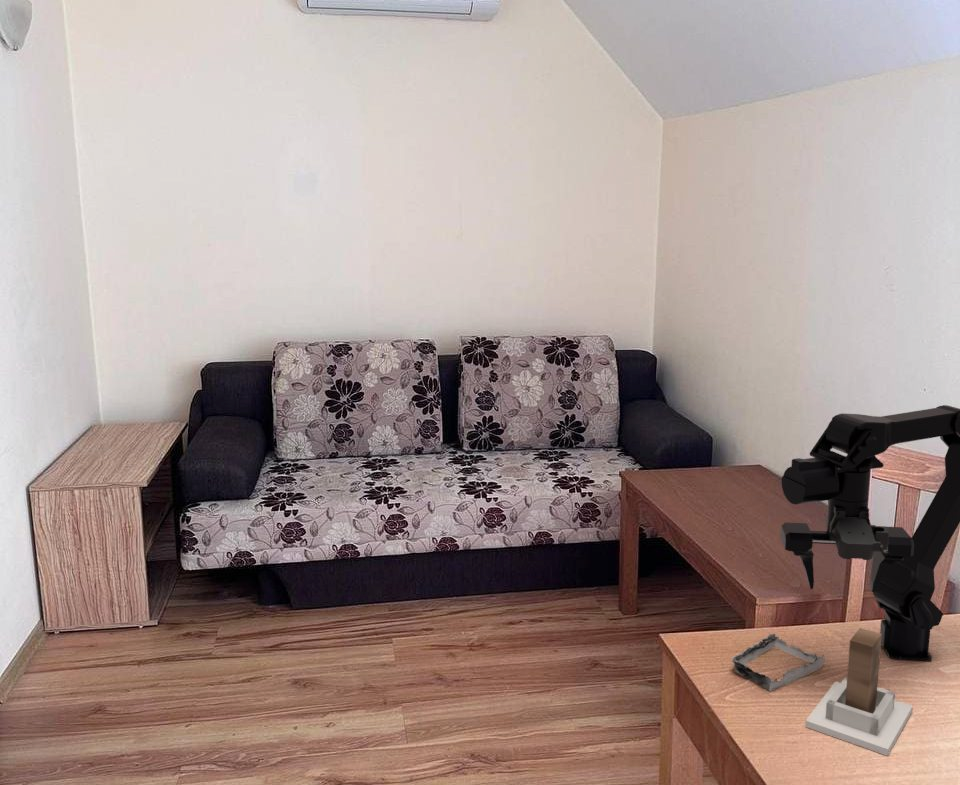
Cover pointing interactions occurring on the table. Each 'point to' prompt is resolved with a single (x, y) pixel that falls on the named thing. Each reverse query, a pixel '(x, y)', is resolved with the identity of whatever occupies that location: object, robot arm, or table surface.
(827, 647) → the table surface
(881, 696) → the white recessed tray
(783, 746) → the table surface
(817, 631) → the table surface
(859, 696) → the walnut block
